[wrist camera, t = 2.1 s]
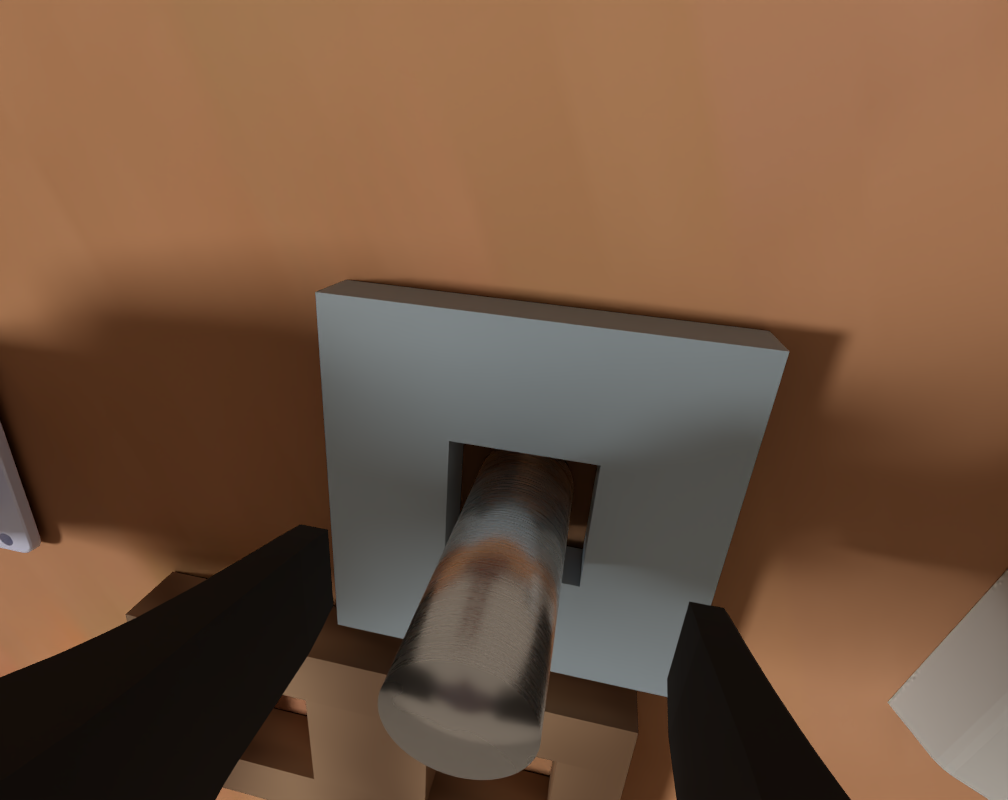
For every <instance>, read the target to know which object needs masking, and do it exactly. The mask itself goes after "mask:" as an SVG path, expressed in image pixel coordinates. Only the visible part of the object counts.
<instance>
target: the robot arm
mask: <svg viewBox="0 0 1008 800" xmlns="http://www.w3.org/2000/svg"><path fill="white" fill-rule="evenodd" d="M40 543H41V539H40V535H39V532H38V529H37V526H36V523H35V520H34V518H33V515H32V512H31V509H30V506H29V503H28V500H27V497H26V494H25V491H24V488H23V486H22V483H21V480H20V477H19V474H18V471H17V468H16V465H15V462H14V459H13V456H12V453H11V451H10V448H9V445H8V442H7V439H6V436H5V433H4V430H3V427H2V424H1V421H0V548H5V549H9V550H14V551H18V552H23V553H28V552H30V551H32V550H34V549H35V548H37V547H38V546H40ZM332 607H333V595H332V581H331V567H330V553H329V539H328V530H326V529H321V528H316V527H311V526H306V525H299V526H297V527H295V528H293V529H291V530H290V531H288V532H286V533H284V534H283V535H281V536H279V537H278V538H276V539H274V540H273V541H271V542H269V543H268V544H266V545H264V546H262V547H261V548H259V549H257V550H256V551H254V552H252V553H251V554H249V555H247V556H246V557H244V558H242V559H241V560H239V561H237V562H236V563H234V564H232V565H230V566H229V567H227V568H225V569H224V570H222V571H220V572H218V573H217V574H215V575H213V576H212V577H210V578H208V579H207V580H205V581H203V582H201V583H200V584H198V585H196V586H194V587H192V588H190V589H189V590H187V591H185V592H183V593H181V594H179V595H177V596H176V597H174V598H172V599H170V600H168V601H166V602H164V603H163V604H161V605H159V606H157V607H155V608H153V609H151V610H150V611H148V612H146V613H144V614H142V615H140V616H138V617H136V618H134V619H132V620H130V621H128V622H126V623H124V624H122V625H120V626H118V627H116V628H114V629H112V630H110V631H108V632H106V633H104V634H101V635H99V636H97V637H95V638H93V639H90V640H88V641H86V642H84V643H82V644H79V645H77V646H75V647H73V648H71V649H69V650H66V651H64V652H62V653H59V654H57V655H55V656H52V657H50V658H47V659H45V660H42V661H40V662H37V663H35V664H32V665H30V666H27V667H25V668H22V669H20V670H17V671H15V672H12V673H10V674H7V675H5V676H3V677H0V800H215V799H216V798H217V796H218V794H219V792H220V790H221V789H222V787H223V785H224V784H225V782H226V780H227V779H228V777H229V776H230V774H231V772H232V771H233V769H234V767H235V766H236V764H237V762H238V761H239V759H240V758H241V756H242V755H243V753H244V752H245V750H246V749H247V747H248V746H249V744H250V743H251V741H252V740H253V738H254V737H255V735H256V734H257V732H258V731H259V729H260V728H261V726H262V725H263V723H264V722H265V720H266V719H267V717H268V716H269V714H270V713H271V711H272V710H273V708H274V707H275V705H276V704H277V702H278V701H279V699H280V698H281V696H282V695H283V693H284V692H285V690H286V689H287V687H288V685H289V684H290V682H291V681H292V679H293V678H294V676H295V675H296V673H297V672H298V670H299V669H300V667H301V666H302V664H303V662H304V661H305V659H306V658H307V656H308V655H309V653H310V651H311V649H312V647H313V645H314V643H315V642H316V640H317V638H318V636H319V634H320V632H321V630H322V628H323V626H324V624H325V622H326V620H327V617H328V615H329V613H330V611H331V609H332ZM667 699H668V733H669V744H670V752H671V760H672V767H673V775H674V783H675V790H676V797H677V800H851V799H850V798H849V797H848V795H847V794H846V793H845V791H844V790H843V789H842V787H841V786H840V784H839V783H838V782H837V780H836V779H835V778H834V776H833V775H832V773H831V772H830V771H829V769H828V768H827V767H826V765H825V764H824V762H823V761H822V760H821V758H820V757H819V756H818V754H817V753H816V751H815V750H814V748H813V747H812V745H811V744H810V743H809V741H808V740H807V738H806V737H805V735H804V734H803V733H802V731H801V730H800V728H799V727H798V725H797V724H796V722H795V721H794V719H793V718H792V716H791V714H790V713H789V711H788V710H787V708H786V707H785V705H784V704H783V702H782V701H781V699H780V698H779V696H778V695H777V693H776V692H775V690H774V689H773V687H772V686H771V684H770V682H769V681H768V679H767V678H766V676H765V674H764V673H763V671H762V670H761V668H760V666H759V665H758V663H757V661H756V660H755V658H754V657H753V655H752V653H751V652H750V650H749V648H748V647H747V645H746V643H745V642H744V640H743V638H742V637H741V635H740V633H739V632H738V630H737V628H736V627H735V625H734V623H733V622H732V620H731V618H730V616H729V615H728V613H727V612H726V611H725V609H724V608H720V607H715V606H710V605H705V604H700V603H695V602H690V601H689V605H688V608H687V611H686V615H685V618H684V622H683V625H682V629H681V632H680V636H679V639H678V643H677V646H676V650H675V653H674V657H673V660H672V664H671V667H670V671H669V674H668V678H667Z"/></svg>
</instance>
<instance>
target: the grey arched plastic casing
mask: <svg viewBox="0 0 1008 800" xmlns="http://www.w3.org/2000/svg"><path fill="white" fill-rule="evenodd" d="M888 704H889V705H890V706H891V707H892V709H893V710H894V711H895V712H896V714H897V715H898V716H899V717H900V719H901V720H902V721H903V722H904V724H905V725H906V726H907V727H908V729H909V730H910V731H911V732H912V734H913V735H914V736H915V737H916V739H917V740H918V741H919V742H920V744H921V745H922V746H923V747H924V749H925V750H926V751H927V752H928V754H929V755H930V756H931V757H932V758H933V759H934V760H935V762H936V763H937V764H938V765H940V766H941V767H942V768H943V769H944V770H945V771H946V772H948V773H949V774H950V775H952V776H953V777H955V778H956V779H958V780H959V781H961V782H962V783H964V784H965V785H967V786H969V787H970V788H972V789H973V790H975V791H976V792H978V793H979V794H981V795H983V796H984V797H986V798H987V799H989V800H1008V569H1007V570H1006V572H1005V573H1004V574H1003V575H1002V576H1001V577H1000V578H999V579H998V580H997V582H996V583H995V584H994V585H993V586H992V587H991V588H990V589H989V590H988V592H987V593H986V594H985V595H984V596H983V597H982V598H981V599H980V600H979V601H978V603H977V604H976V605H975V606H974V607H973V608H972V609H971V610H970V611H969V613H968V614H967V615H966V616H965V617H964V618H963V619H962V620H961V621H960V623H959V624H958V625H957V626H956V627H955V628H954V629H953V630H952V631H951V632H950V634H949V635H948V636H947V637H946V638H945V639H944V640H943V641H942V642H941V644H940V645H939V646H938V647H937V648H936V649H935V650H934V651H933V652H932V654H931V655H930V656H929V657H928V658H927V659H926V660H925V661H924V662H923V663H922V665H921V666H920V667H919V668H918V669H917V670H916V671H915V672H914V673H913V675H912V676H911V677H910V678H909V679H908V680H907V681H906V682H905V683H904V685H903V686H902V687H901V688H900V689H899V690H898V691H897V692H896V693H895V694H894V696H893V697H892V698H891V699H890V700H889V701H888Z"/></svg>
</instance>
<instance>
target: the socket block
mask: <svg viewBox="0 0 1008 800" xmlns="http://www.w3.org/2000/svg"><path fill="white" fill-rule="evenodd" d="M315 295H316V309H317V324H318V339H319V354H320V368H321V383H322V398H323V413H324V427H325V442H326V457H327V472H328V486H329V501H330V516H331V531H332V545H333V560H334V575H335V590H336V604H337V619H338V625H342V626H347V627H352V628H356V629H361V630H365V631H370V632H374V633H379V634H383V635H388V636H392V637H397V638H401V639H404V636H405V634H406V632H407V630H408V628H409V625H410V623H411V621H412V619H413V617H414V614H415V612H416V610H417V608H418V606H419V603H420V601H421V599H422V597H423V595H424V592H425V590H426V588H427V586H428V584H429V581H430V579H431V577H432V575H433V573H434V570H435V568H436V566H437V564H438V562H439V559H440V557H441V555H442V553H443V551H444V548H445V546H446V544H447V542H448V540H449V537H450V535H451V533H452V531H453V529H454V526H455V524H456V522H457V520H458V518H459V515H460V503H461V483H462V464H463V445H464V444H471V445H477V446H483V447H489V448H495V449H501V450H508V451H514V452H520V453H526V454H532V455H538V456H544V457H551V458H557V459H563V460H569V461H575V462H581V463H588V464H594V465H597V470H596V476H595V481H594V487H593V493H592V499H591V505H590V511H589V517H588V522H587V528H586V534H585V540H584V546H583V549H579V548H573V547H568V546H566V553H565V561H564V568H563V576H562V584H561V591H560V599H559V607H558V614H557V622H556V630H555V637H554V645H553V652H552V660H551V668H550V671H551V672H556V673H560V674H565V675H569V676H574V677H578V678H583V679H588V680H592V681H597V682H601V683H606V684H610V685H615V686H619V687H624V688H628V689H633V690H637V691H642V692H647V693H651V694H656V695H660V696H665V697H667V678H668V674H669V671H670V667H671V664H672V660H673V657H674V653H675V650H676V646H677V643H678V639H679V636H680V632H681V629H682V625H683V622H684V618H685V615H686V611H687V608H688V605H689V601H690V602H695V603H700V604H705V605H710V606H711V603H712V600H713V597H714V594H715V591H716V587H717V584H718V581H719V578H720V574H721V571H722V568H723V565H724V561H725V558H726V555H727V552H728V549H729V545H730V542H731V539H732V536H733V532H734V529H735V526H736V523H737V520H738V516H739V513H740V510H741V507H742V503H743V500H744V497H745V494H746V490H747V487H748V484H749V481H750V478H751V474H752V471H753V468H754V465H755V461H756V458H757V455H758V452H759V448H760V445H761V442H762V439H763V436H764V432H765V429H766V426H767V423H768V419H769V416H770V413H771V410H772V406H773V403H774V400H775V397H776V394H777V390H778V387H779V384H780V381H781V377H782V374H783V371H784V368H785V365H786V361H787V358H788V355H789V351H788V349H787V348H786V347H785V346H784V345H783V344H782V343H781V342H780V341H779V340H778V339H777V338H776V337H775V336H774V335H773V334H772V333H771V332H770V331H766V330H757V329H749V328H741V327H733V326H724V325H716V324H708V323H699V322H691V321H683V320H675V319H666V318H658V317H650V316H642V315H633V314H625V313H617V312H609V311H600V310H592V309H584V308H575V307H567V306H559V305H551V304H542V303H534V302H526V301H518V300H509V299H501V298H493V297H484V296H476V295H468V294H460V293H451V292H443V291H435V290H427V289H418V288H410V287H402V286H394V285H385V284H377V283H369V282H360V281H352V280H344V281H342V282H339V283H337V284H334V285H332V286H329V287H327V288H324V289H322V290H319V291H317V292H315Z"/></svg>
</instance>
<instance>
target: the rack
mask: <svg viewBox="0 0 1008 800" xmlns="http://www.w3.org/2000/svg"><path fill="white" fill-rule="evenodd" d="M205 580H207V579H204V578H200V577H195V576H191V575H186V574H181V573H177V572H172V573H171V574H170V575H169V576H168V577H166V578H165V579H164V580H163V581H162V582H161V583H160V584H159V585H158V586H156V587H155V588H154V589H153V590H152V591H151V592H150V593H149V594H148V595H147V596H145V597H144V598H143V599H142V600H141V601H140V602H139V603H138V604H137V605H135V606H134V607H133V608H132V609H131V610H130V611H129V612H128V613H127V614H125V615H126V618H127V622H128V621H130V620H132V619H134V618H136V617H138V616H140V615H142V614H144V613H146V612H148V611H150V610H151V609H153V608H155V607H157V606H159V605H161V604H163V603H164V602H166V601H168V600H170V599H172V598H174V597H176V596H177V595H179V594H181V593H183V592H185V591H187V590H189V589H190V588H192V587H194V586H196V585H198V584H200V583H201V582H203V581H205ZM402 641H403V639H401V638H397V637H392V636H388V635H383V634H379V633H374V632H370V631H365V630H361V629H356V628H352V627H347V626H342V625H338V619H337V607H334V606H333V607H332V609H331V611H330V613H329V615H328V617H327V620H326V622H325V624H324V626H323V628H322V630H321V632H320V634H319V636H318V638H317V640H316V642H315V643H314V645H313V647H312V649H311V651H310V653H309V655H308V656H307V658H306V659H305V661H304V662H303V664H302V666H301V667H300V669H299V670H298V672H297V673H296V675H295V676H294V678H293V679H292V681H291V682H290V684H289V685H288V687H287V689H286V690H285V692H284V693H283V695H285V696H290V697H294V698H298V699H302V700H306V709H307V717H306V716H302V715H298V714H294V713H290V712H286V711H282V710H278V709H274V708H273V710H272V711H271V713H270V714H269V716H268V717H267V719H266V720H265V722H264V723H263V725H262V726H261V728H260V729H259V731H258V732H257V734H256V735H255V737H254V738H253V740H252V741H251V743H250V744H249V746H248V747H247V749H246V750H245V752H244V753H243V755H242V756H241V758H240V759H239V761H238V762H237V764H236V766H235V767H234V769H233V771H232V772H231V774H230V776H229V777H228V779H227V780H226V782H225V784H224V785H223V788H227V789H230V790H234V791H238V792H241V793H245V794H249V795H252V796H256V797H259V798H263V799H267V800H620V799H621V795H622V792H623V788H624V784H625V781H626V777H627V773H628V769H629V766H630V762H631V758H632V755H633V751H634V747H635V744H636V740H637V736H638V713H637V690H633V689H628V688H624V687H619V686H615V685H610V684H606V683H601V682H597V681H592V680H588V679H583V678H578V677H574V676H569V675H565V674H560V673H556V672H551V671H550V675H549V683H548V691H547V698H546V706H545V713H544V721H543V729H542V736H541V744H540V748H539V751H538V753H537V755H536V757H539V758H543V759H547V760H551V761H552V767H551V773H550V777H547V776H543V775H539V774H535V773H531V772H527V771H523V770H521V771H520V772H518V773H516V774H513V775H511V776H508V777H504V778H500V779H494V780H472V779H464V778H459V777H455V776H451V775H448V774H444V773H442V772H439V771H437V770H434V769H432V768H430V767H428V766H426V765H424V764H422V763H421V762H419V761H417V760H416V759H414V758H413V757H411V756H410V755H408V754H407V753H406V752H405V751H404V750H402V749H401V748H400V747H399V746H398V745H397V744H396V743H395V742H394V740H393V739H392V738H391V737H390V735H389V734H388V733H387V731H386V729H385V728H384V726H383V724H382V721H381V719H380V716H379V712H378V696H379V692H380V689H381V687H382V685H383V683H384V680H385V678H386V676H387V674H388V672H389V669H390V667H391V665H392V663H393V661H394V658H395V656H396V654H397V652H398V650H399V647H400V645H401V643H402Z"/></svg>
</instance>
